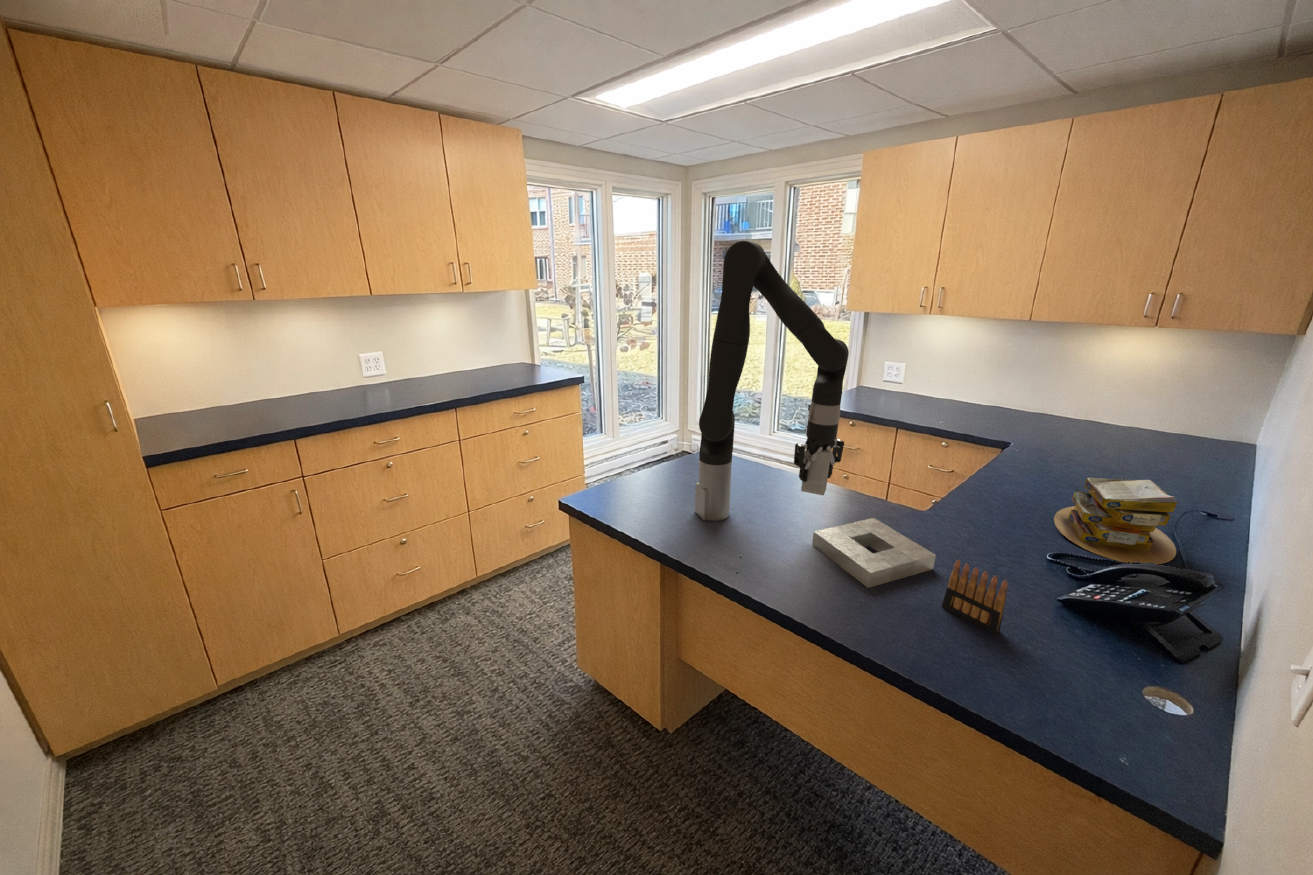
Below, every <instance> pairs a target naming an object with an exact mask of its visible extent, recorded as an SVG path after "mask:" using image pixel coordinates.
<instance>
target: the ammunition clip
mask: <svg viewBox="0 0 1313 875" xmlns="http://www.w3.org/2000/svg"><path fill="white" fill-rule="evenodd" d="M952 568H953V569H952V571H951V574H950V577H949V580H948V584H947V585H948V586H947V587H946V590H945V593H944V597H943V600H942V604H941V607H942V608H943V609H945V610H946V611H949V612H950V611H951V612H950V613H952V614H954V615H956V616H958V617H960V618H962V619H964V620H966V619H967V620H966V621H969V622H970V623H972V624H974V625H976V626H978V625H979V626H978V627H980V628H982V629H983V630H985V629H986V631H988V632H989V633H991V632H992V633H991V634H993V633H994V634H993V635H997V634H998V633H999V632H1000V631H1001V625H1002V620H1003V616H1004V609H1005V605H1006V600H1007V592H1008V580H1007V579H1004V580H1003V581H1002V583H1001V585H1000V587H999V590H998V593H997V586H998V576H997V575H996V574H995V575H994V576H992V579H991V580H990V582H989V586H988V589H987V584H988V578H989V577H988V571H986V570H984V571H983V573H982V574H981V576H980V579H979V568H978V567H977V566H975V567H974V568H973V571H972V572H971V575H970V579H969V573H970V564H969V563H968V562H966V563H965V565H964V567H963V569H962V571H961V560H960V559H957V560H956V561H955V562H954V565H953V567H952ZM960 571H961V574H960ZM978 579H979V583H978ZM996 593H997V594H996Z"/></svg>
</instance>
